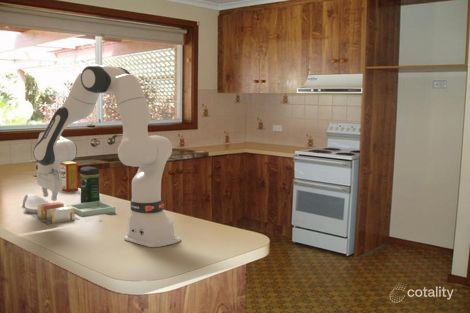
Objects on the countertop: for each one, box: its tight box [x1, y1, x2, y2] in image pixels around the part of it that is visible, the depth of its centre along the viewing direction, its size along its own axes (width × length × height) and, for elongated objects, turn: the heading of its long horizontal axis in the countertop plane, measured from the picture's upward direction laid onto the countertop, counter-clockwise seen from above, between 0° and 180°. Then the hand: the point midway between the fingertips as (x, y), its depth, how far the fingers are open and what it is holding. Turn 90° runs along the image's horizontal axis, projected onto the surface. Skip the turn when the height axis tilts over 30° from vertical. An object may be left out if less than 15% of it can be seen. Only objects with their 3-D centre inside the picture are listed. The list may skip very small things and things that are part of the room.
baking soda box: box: [59, 160, 79, 192], centre depth 272 cm, size 10×6×16 cm
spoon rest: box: [22, 193, 51, 214], centre depth 222 cm, size 24×12×7 cm, turn 40°
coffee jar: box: [79, 165, 101, 203], centre depth 238 cm, size 10×8×19 cm
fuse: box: [37, 201, 65, 218], centre depth 210 cm, size 4×10×5 cm, turn 132°
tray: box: [66, 200, 116, 217], centre depth 220 cm, size 16×16×3 cm
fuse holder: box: [31, 206, 81, 226], centre depth 206 cm, size 19×14×6 cm
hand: (49, 198), depth 209 cm, fingers open, 8 cm apart
